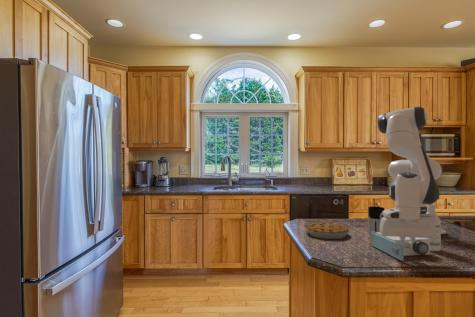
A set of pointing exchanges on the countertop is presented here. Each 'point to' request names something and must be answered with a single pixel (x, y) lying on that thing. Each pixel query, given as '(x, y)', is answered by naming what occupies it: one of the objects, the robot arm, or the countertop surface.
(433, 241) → the bath foam
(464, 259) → the countertop surface
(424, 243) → the knobbed cream box
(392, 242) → the side door
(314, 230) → the pie
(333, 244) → the countertop surface
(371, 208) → the grey mug
